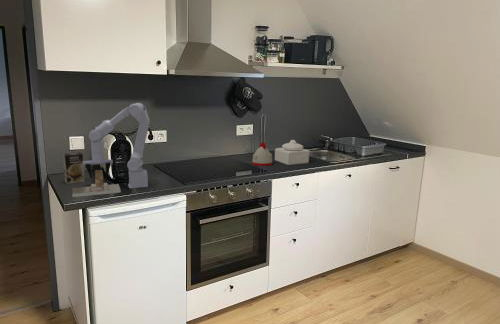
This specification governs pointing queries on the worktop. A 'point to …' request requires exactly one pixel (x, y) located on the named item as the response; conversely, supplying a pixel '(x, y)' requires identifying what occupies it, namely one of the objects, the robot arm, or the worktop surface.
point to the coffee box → (73, 167)
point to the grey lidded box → (292, 154)
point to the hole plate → (96, 190)
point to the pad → (95, 184)
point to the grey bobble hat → (262, 156)
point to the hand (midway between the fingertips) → (98, 177)
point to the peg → (99, 177)
